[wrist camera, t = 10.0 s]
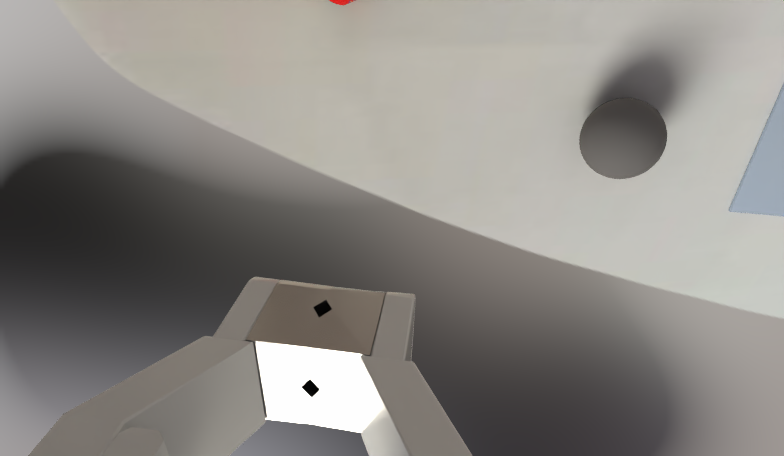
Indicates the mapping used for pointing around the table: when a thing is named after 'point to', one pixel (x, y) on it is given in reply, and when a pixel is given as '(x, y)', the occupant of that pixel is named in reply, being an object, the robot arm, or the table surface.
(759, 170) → the board
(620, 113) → the grey sphere
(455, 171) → the table surface
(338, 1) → the race car
